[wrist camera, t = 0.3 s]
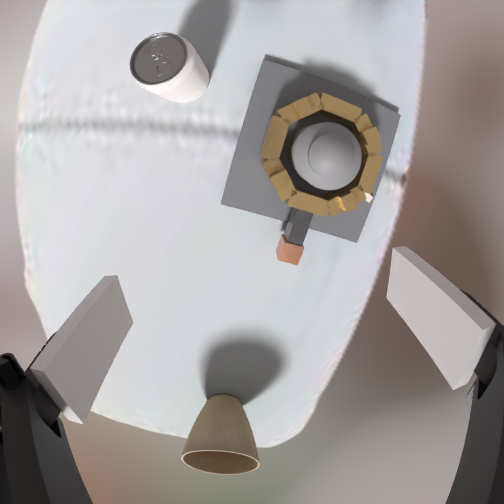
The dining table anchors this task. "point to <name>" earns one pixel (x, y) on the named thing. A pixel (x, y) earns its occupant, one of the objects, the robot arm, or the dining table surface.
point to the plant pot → (221, 439)
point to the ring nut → (306, 200)
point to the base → (304, 150)
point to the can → (169, 68)
